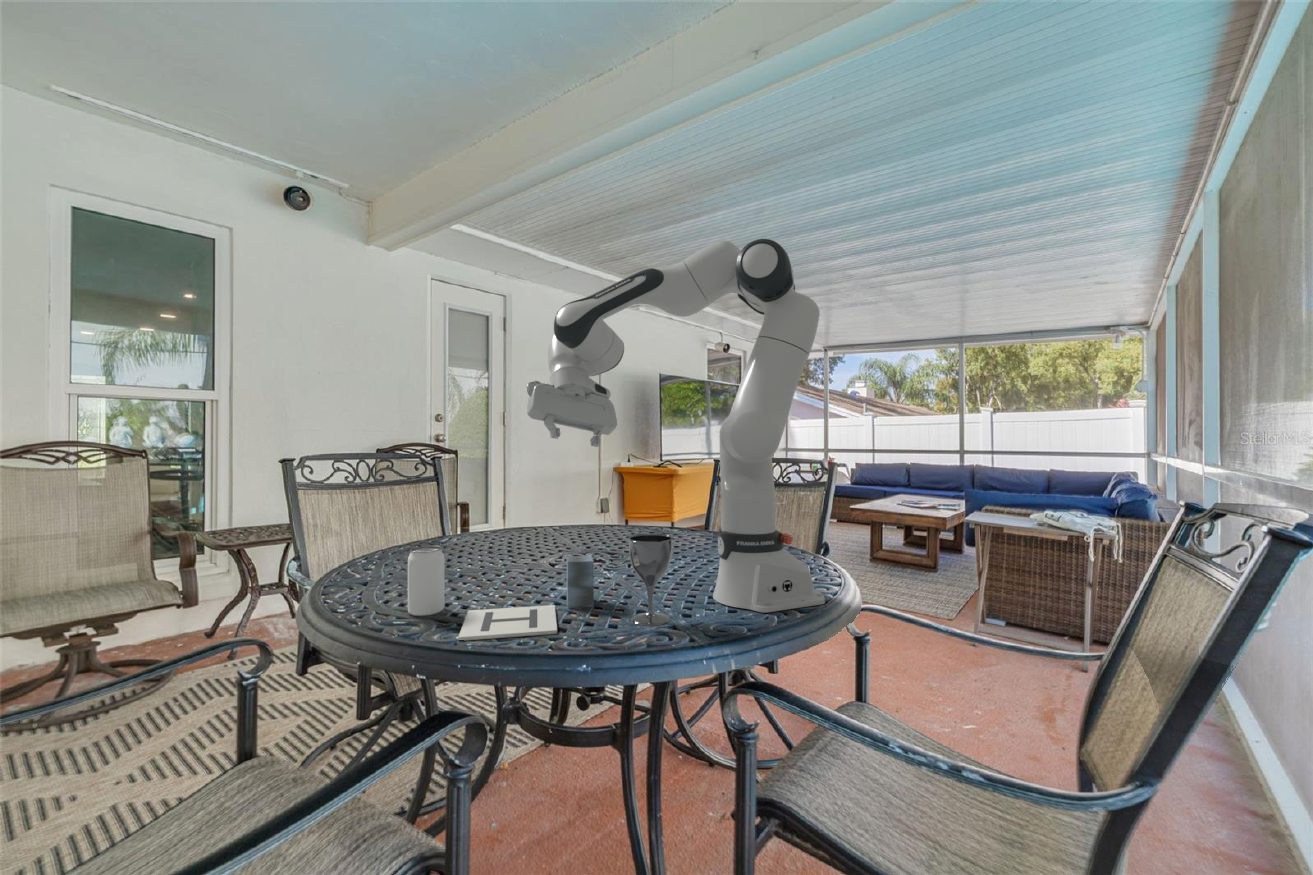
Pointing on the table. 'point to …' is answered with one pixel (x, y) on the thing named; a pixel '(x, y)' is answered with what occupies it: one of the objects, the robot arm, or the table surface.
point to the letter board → (509, 622)
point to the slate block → (580, 581)
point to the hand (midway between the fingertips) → (576, 441)
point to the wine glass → (650, 569)
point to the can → (425, 581)
